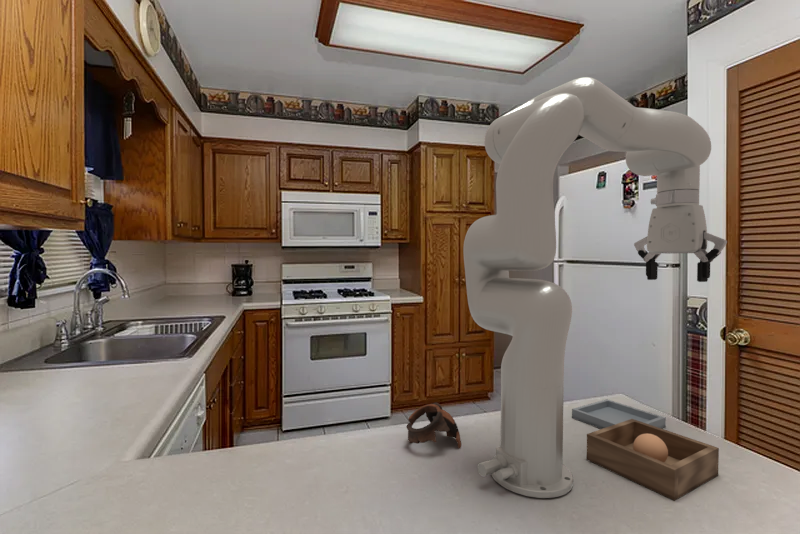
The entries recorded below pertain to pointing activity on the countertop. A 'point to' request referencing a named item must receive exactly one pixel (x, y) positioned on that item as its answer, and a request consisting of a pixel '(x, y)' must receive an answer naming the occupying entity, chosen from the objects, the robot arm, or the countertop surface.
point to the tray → (614, 414)
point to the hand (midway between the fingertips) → (676, 280)
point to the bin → (671, 478)
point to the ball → (651, 446)
